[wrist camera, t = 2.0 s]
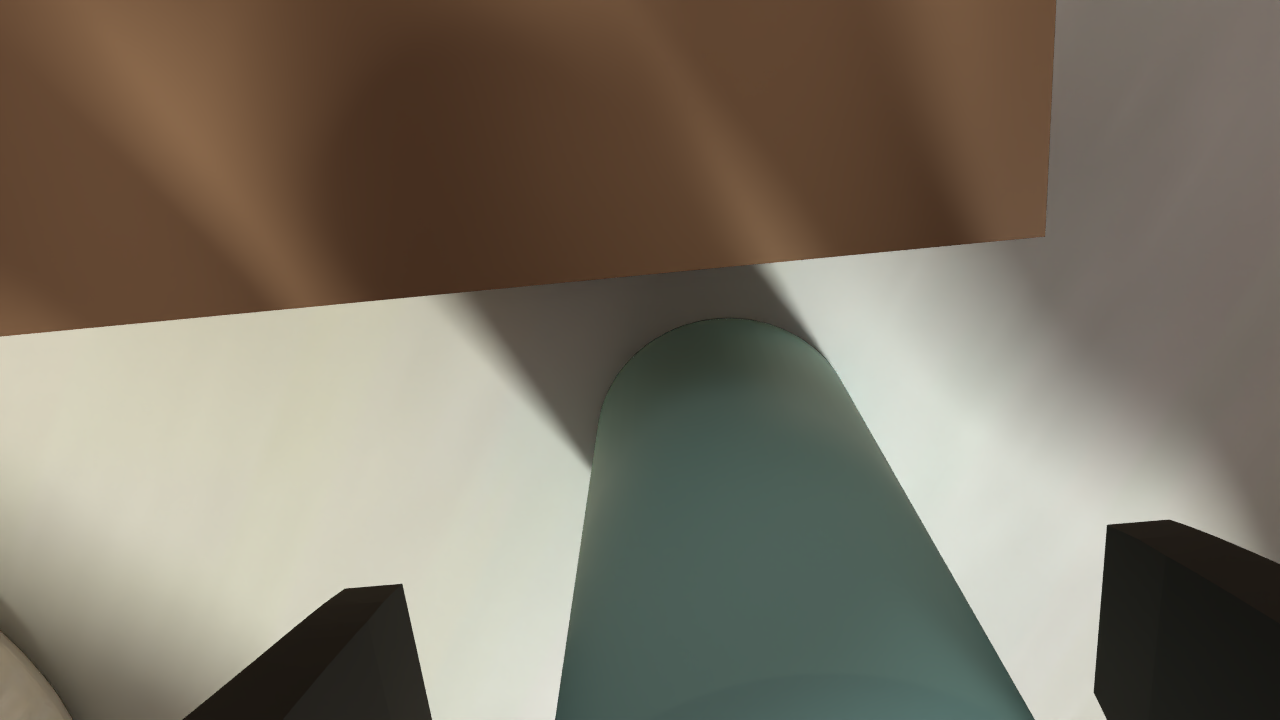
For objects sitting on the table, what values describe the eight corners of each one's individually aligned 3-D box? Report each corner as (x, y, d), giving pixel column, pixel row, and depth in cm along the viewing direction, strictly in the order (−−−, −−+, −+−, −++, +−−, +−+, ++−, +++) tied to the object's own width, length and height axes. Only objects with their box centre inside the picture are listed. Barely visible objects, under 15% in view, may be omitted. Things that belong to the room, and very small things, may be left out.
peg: (851, 306, 13) (1121, 651, 6) (857, 543, 14) (1080, 1082, 7) (582, 331, 13) (491, 697, 6) (611, 563, 15) (568, 1109, 7)
